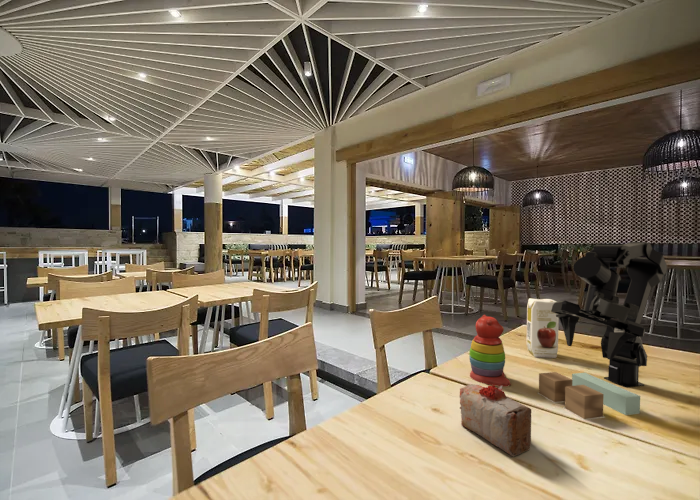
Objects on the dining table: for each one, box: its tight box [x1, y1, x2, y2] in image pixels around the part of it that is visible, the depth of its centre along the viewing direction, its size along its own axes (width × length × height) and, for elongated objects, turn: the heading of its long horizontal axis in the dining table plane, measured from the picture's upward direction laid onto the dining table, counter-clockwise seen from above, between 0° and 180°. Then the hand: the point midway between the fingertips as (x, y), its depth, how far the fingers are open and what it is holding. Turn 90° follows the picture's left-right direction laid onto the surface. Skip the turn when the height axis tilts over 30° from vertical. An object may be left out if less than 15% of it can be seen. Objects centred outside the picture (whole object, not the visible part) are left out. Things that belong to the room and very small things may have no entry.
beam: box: [571, 372, 641, 416], centre depth 83 cm, size 14×4×4 cm, turn 12°
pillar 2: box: [564, 385, 604, 420], centre depth 77 cm, size 5×5×5 cm
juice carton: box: [526, 297, 560, 359], centre depth 118 cm, size 8×9×19 cm
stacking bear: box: [469, 314, 511, 388], centre depth 96 cm, size 11×10×18 cm
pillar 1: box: [538, 371, 572, 403], centre depth 85 cm, size 5×5×5 cm
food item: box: [459, 383, 532, 457], centre depth 69 cm, size 14×8×10 cm, turn 28°
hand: (589, 352), depth 83 cm, fingers open, 9 cm apart
